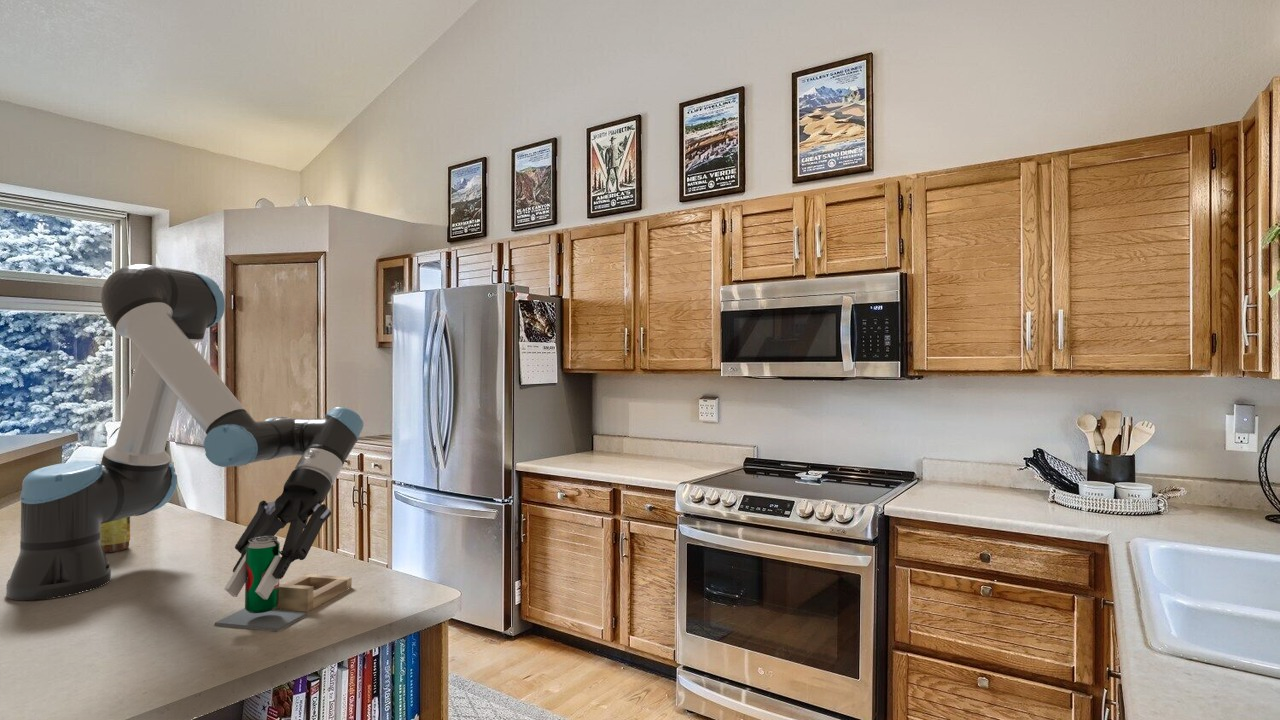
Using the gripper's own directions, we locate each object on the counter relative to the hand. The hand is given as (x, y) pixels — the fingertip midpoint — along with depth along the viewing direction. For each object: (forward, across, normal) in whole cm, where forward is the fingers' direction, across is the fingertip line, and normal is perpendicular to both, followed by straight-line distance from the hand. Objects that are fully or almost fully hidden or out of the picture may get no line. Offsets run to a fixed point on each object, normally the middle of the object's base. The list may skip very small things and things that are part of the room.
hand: (245, 593), depth 109 cm
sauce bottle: (-19, -63, +28) cm, 71 cm away
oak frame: (-7, 0, +15) cm, 16 cm away
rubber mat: (+1, 0, +7) cm, 7 cm away
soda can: (0, 0, +6) cm, 6 cm away
